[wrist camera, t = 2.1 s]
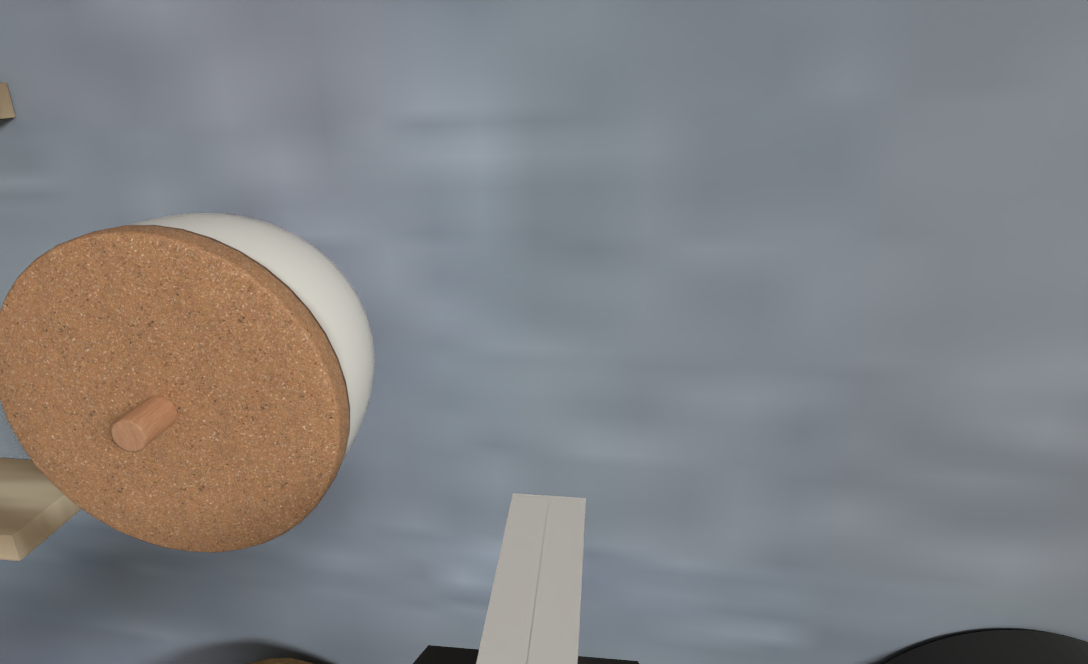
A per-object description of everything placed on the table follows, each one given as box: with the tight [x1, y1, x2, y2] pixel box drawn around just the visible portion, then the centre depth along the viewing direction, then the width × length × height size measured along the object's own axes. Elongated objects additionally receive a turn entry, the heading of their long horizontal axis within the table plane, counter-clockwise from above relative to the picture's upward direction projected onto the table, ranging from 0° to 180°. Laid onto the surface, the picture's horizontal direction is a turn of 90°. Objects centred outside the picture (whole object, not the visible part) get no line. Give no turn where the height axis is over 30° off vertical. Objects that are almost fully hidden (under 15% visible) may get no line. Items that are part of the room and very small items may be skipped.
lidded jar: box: [0, 213, 375, 552], centre depth 23 cm, size 11×11×9 cm
